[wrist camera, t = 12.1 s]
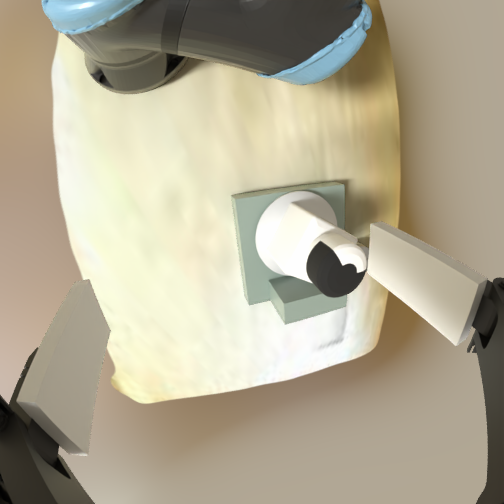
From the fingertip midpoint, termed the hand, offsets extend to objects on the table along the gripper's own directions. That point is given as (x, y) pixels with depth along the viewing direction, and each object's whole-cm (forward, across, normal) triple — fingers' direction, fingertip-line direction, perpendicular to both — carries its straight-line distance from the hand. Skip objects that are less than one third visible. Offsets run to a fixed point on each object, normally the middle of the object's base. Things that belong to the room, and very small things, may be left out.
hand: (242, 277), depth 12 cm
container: (+25, +13, -9) cm, 29 cm away
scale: (+29, +13, -11) cm, 33 cm away
